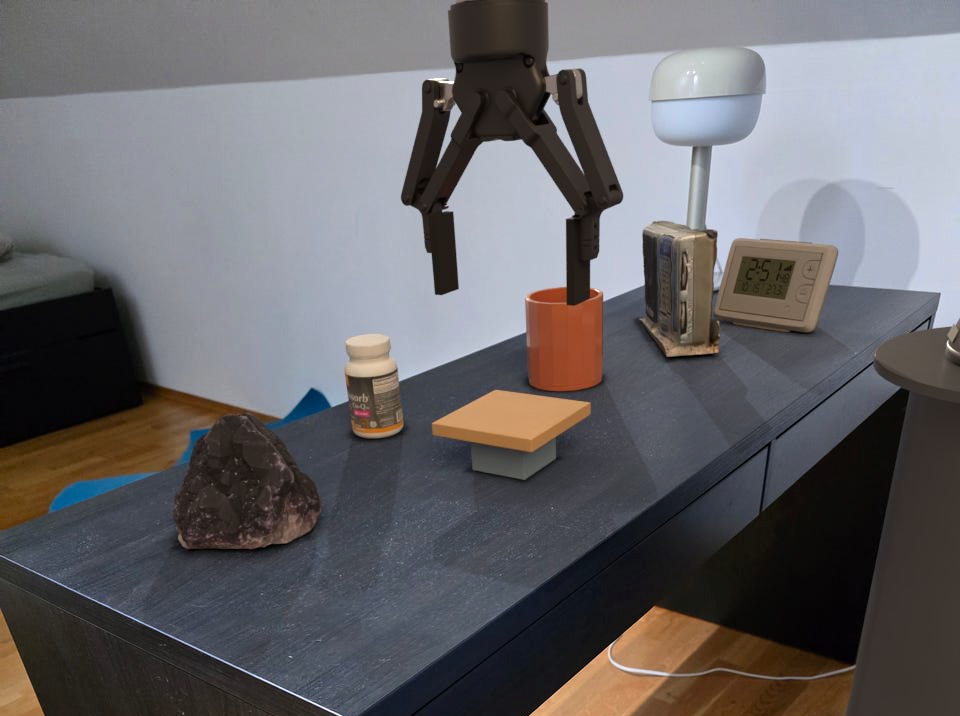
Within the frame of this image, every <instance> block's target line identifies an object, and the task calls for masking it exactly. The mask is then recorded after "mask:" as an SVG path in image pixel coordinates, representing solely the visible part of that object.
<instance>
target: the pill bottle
mask: <svg viewBox="0 0 960 716" xmlns="http://www.w3.org/2000/svg"><path fill="white" fill-rule="evenodd" d="M344 344H345V352H346V354H347V357H349V361H347V363H345V366H344V378H345V384H346V385H345V386H346V393H347V399H348V400H347V401H348V406H349V407H348V408H349V415H350V422H351V429H352V432H353V433H354V434H355V435H356V436H357V437H360V438H363V439H367V440H368V439H369V440H371V439H375V440H376V439H383V438H384V439H385V438H390V437H392V436H394V435H397V434H399V433H400V432H401V431H402V430H403V428H404V415H403V414H404V413H403V407H402V406H403V404H402V397H401V396H402V395H401V389H400V379H399V370H398V368H399V367H398V364H397V361H396V360H395V359H394V358H393V357H392V356H390V352H391V349H392V345H391V339H390V337H389V336H388V335H387V334H386V335H385V334H381V333H368V334H359V335H355V336H352V337H350V338H347V339H346V340H345V342H344Z"/></svg>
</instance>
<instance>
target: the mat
mask: <svg viewBox="0 0 960 716" xmlns="http://www.w3.org/2000/svg"><path fill="white" fill-rule="evenodd" d="M591 406H592V403H591V402H589V401H582V400H575V399H567V398H559V397H552V396H544V395H539V394H538V395H537V394H531V393H523V392H517V391H516V392H515V391H509V390H508V391H507V390H501V389H493V390H492V391H490V392H488V393H486V394H485V395H483V396H480V397H479V398H477V399H475V400H473V401H472V402H470V403H468V404H465V405H464V406H461V407H459V408H458V409H456V410H453V412H450V413H449V414H446V415H445V416H443V417H440V418H439V419H437V420H435V421H434V422H432V423H431V430H432V435H433V436H434V437H441V438H447V439H452V440H459V441H464V442H469V443H470V442H475V443H481V444H486V445H492V446H498V447H504V448H509V449H515V450H521V451H526V452H533V451H535V450H536V449H538V448H539V447H541V446H543V445H544V444H546V443H547V442H549V441H550V440H552V439H553V438H555V437H556V438H557V437H559V436H560V435H561V434H563V433H565V432H566V431H567V430H569V429H570V428H572V427H573V426H575V425H577V424H578V423H579V422H581V421H583V420H584V419H586V418H587V417H589V416H590V415H591V413H592V412H591V409H592V407H591Z"/></svg>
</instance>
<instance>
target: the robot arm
mask: <svg viewBox="0 0 960 716" xmlns="http://www.w3.org/2000/svg"><path fill="white" fill-rule="evenodd" d="M447 19H448V34H449V47H450V49H449V50H450V56H451V59H452V62H453V64H454V67H455V74H454V75H455V77H454V79H453V81H450V80H449V79H448V78H446V77H442V78H433V79H432V78H430V79H424V81H423V82H422V84H421V114H420V118H419V122H418V125H417V131H416V135H415V138H414V141H413V146H412V150H411V154H410V159H409V162H408V166H407V170H406V174H405V178H404V182H403V186H402V190H401V194H400V201H401V203H402V205H404V206H405V207H409V206H410V207H412V208H414V209H416V210H418V211H419V213H420V214H421V219H422V229H423V240H424V241H423V243H424V249H425V251H426V254H431V265H432V276H433V287H434V295H435V296H443V295H447V294H449V293H451V292H454V291H458V290H459V288H460V287H459V285H460V284H459V271H458V259H457V258H458V257H457V244H456V230H455V216H454V214H455V213H454V211H452V210H447V209H449V208H450V206H449V205H448V202H449V200H450V198H451V196H452V195H453V193H454V191H455V190H456V187H457V185H458V184H459V182H460V180H461V178H462V177H463V175H464V173H465V171H466V169H467V167H468V165H469V164H470V162H471V160H472V158H473V156H474V155H475V153H476V151H477V149H478V147H480V146H481V145H482V144H483V143H486V142H487V143H488V142H495V141H503V142H515V141H522V142H523V143H524V144H525V145H526V146H527V147H528V148H530V149H531V150H532V151H533V153H534V154H535V156H536V157H537V159H538V160H539V162H540V163H541V165H542V166H543V168H544V169H545V171H546V172H547V174H548V175H549V178H551V180H552V181H553V183H554V185H556V187H557V189H558V191H560V193H561V195H562V196H563V198H564V199H565V200H566V202H567V204H568V205H569V206H570V208H571V209H572V211H573V212H574V213H573V215H572V216H571V217H568V218H565V250H566V251H565V263H566V264H565V275H566V276H565V279H566V280H565V282H566V286H565V287H566V291H567V305H571V306H575V305H577V304H580V303H582V302H584V301H586V300H588V299H590V288H591V261H593V260H595V259H597V258H598V256H599V253H600V237H601V236H600V231H601V230H600V229H601V228H600V226H601V223H600V222H601V216H602V214H603V212H604V211H606V210H608V209H610V208H612V207H615V206H617V205H620V204H621V203H622V202H623V200H624V192H623V189H622V186H621V184H620V181H619V179H618V176H617V173H616V171H615V168H614V166H613V163H612V160H611V158H610V155H609V152H608V150H607V147H606V145H605V142H604V139H603V136H602V134H601V131H600V129H599V127H598V124H597V120H596V119H595V116H594V112H593V111H592V108H591V106H590V103H589V96H588V95H589V93H588V82H587V81H588V80H587V74H586V72H585V70H584V69H583V68H580V67H579V68H565V69H560V70H559V71H558V72H557V73H556V74H551V75H550V73H549V69H548V65H547V59H548V53H549V50H550V49H549V43H550V41H549V39H550V38H549V37H550V35H549V2H547V1H546V0H455V3H453V4H451V5H450V7H449V9H448V10H447ZM551 96H552V101H553V102H554V103H555V105H557V106H558V108H559V112H560V115H561V119H562V121H563V124H564V126H565V130H566V132H567V134H568V136H569V139H570V141H571V144H572V147H573V149H574V153H575V154H576V157H577V159H578V162H579V165H580V166H579V165H578V163H577V161H576V160H575V158H574V157H573V155H572V154H571V152H570V151H569V150H568V148H567V146H566V145H565V143H564V141H563V140H562V139H561V138H560V136H559V134H558V129H557V126H556V125H555V123H554V121H553V120H552V119H551V117H550V116H549V114H548V113H547V112H546V109H545V107H546V105H547V103H548V101H549V100H550V98H551ZM454 106H457V108H458V110H459V111H460V115H459V117H458V119H457V121H456V123H455V125H454V127H453V128H452V131H451V133H450V141H449V143H448V145H447V147H446V148H445V151H444V153H443V154H442V156H441V158H440V155H441V152H442V148H443V145H444V141H445V137H446V134H447V130H448V127H449V122H450V118H451V112H452V109H453V108H454ZM439 159H440V160H439ZM444 210H446V211H444ZM950 327H951V326H950ZM948 337H949V340H948V342H947V346H946V351H945V357H946V358H947V359H948V360H949V361H950V362H952V363H954V364H956V365H958V366H960V317H959V319H958V320H957V321H956V323H953V324H952V327H951V329H950V331H949V333H948Z"/></svg>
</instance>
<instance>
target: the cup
mask: <svg viewBox="0 0 960 716" xmlns="http://www.w3.org/2000/svg"><path fill="white" fill-rule="evenodd" d="M524 308H525V331H526V332H525V333H526V358H527V359H526V362H527V378H528V384H529V385H530V386H531V387H533V388H535V389H538V390H542V391H548V392H549V391H550V392H574V391H580V390H584V389H588V388H592V387H594V386H595V387H596V386H597V385H599V384H600V383H601V382H602V380H603V371H604V292H603V291H602V290H601V289H598V288H594V287H590V299H588V300H586V301H584V302H582V303H580V304H577V305H575V306H571V305H567V291H566V286H558V287H557V286H556V287H549V288H543V289H539V290H535V291H531V292H530V293H528V294H526V296H525V297H524Z"/></svg>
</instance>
